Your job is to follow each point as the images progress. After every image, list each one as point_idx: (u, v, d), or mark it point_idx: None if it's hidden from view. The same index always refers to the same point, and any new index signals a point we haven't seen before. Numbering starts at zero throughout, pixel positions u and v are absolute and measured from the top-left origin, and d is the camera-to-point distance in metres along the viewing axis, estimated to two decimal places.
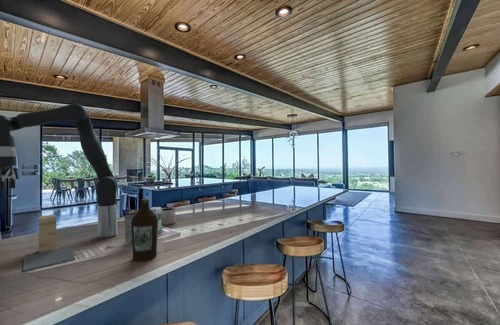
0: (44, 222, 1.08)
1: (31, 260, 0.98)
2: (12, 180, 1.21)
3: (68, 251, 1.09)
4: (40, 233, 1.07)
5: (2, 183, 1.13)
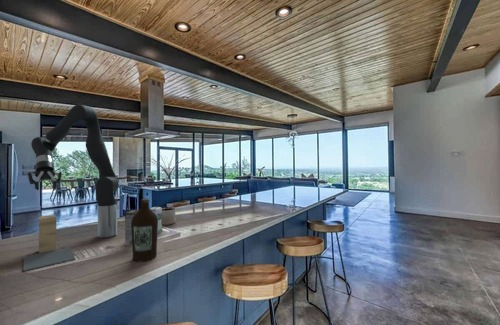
0: (44, 222, 1.08)
1: (31, 260, 0.98)
2: (52, 182, 1.24)
3: (68, 251, 1.09)
4: (40, 233, 1.07)
5: (36, 184, 1.18)
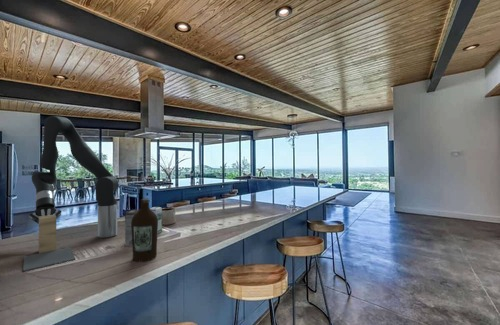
0: (44, 222, 1.08)
1: (31, 260, 0.98)
2: None
3: (68, 251, 1.09)
4: (40, 233, 1.07)
5: None
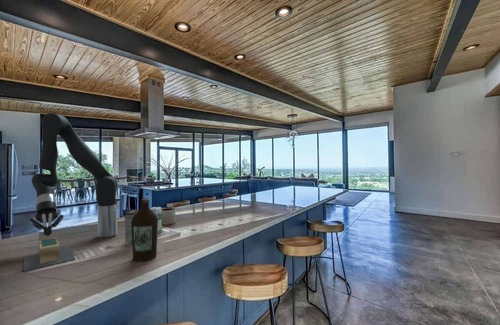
0: None
1: (31, 260, 0.98)
2: None
3: (68, 251, 1.09)
4: None
5: (45, 229, 1.09)
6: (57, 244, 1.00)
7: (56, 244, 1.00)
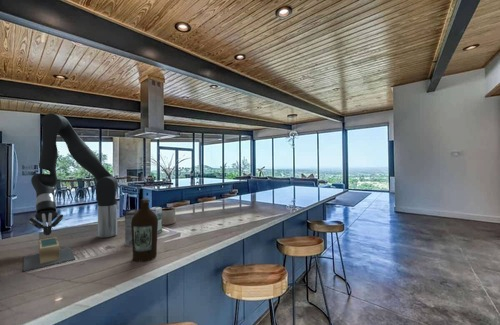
0: None
1: (31, 260, 0.98)
2: None
3: (68, 251, 1.09)
4: None
5: (45, 229, 1.10)
6: (57, 244, 1.00)
7: (56, 244, 1.00)
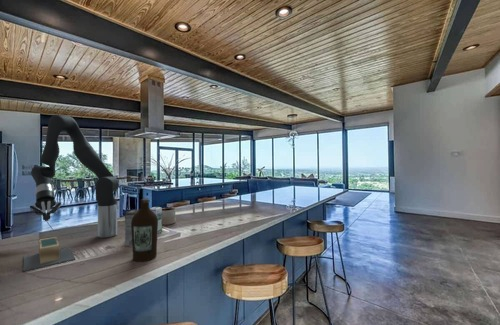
0: None
1: (31, 260, 0.98)
2: (46, 213, 1.22)
3: (68, 251, 1.09)
4: None
5: (44, 215, 1.20)
6: (57, 244, 1.00)
7: (56, 244, 1.00)
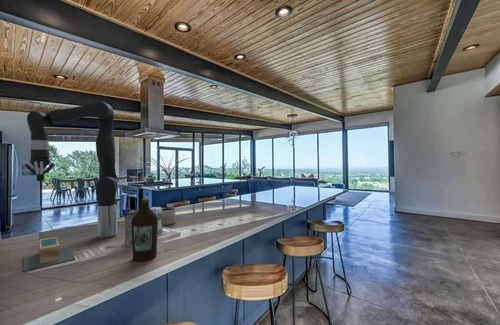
0: None
1: (31, 260, 0.98)
2: None
3: (68, 251, 1.09)
4: None
5: (38, 176, 1.26)
6: (57, 244, 1.00)
7: (56, 244, 1.00)
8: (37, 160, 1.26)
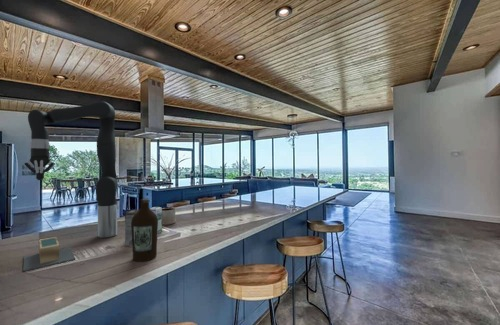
0: None
1: (31, 260, 0.98)
2: None
3: (68, 251, 1.09)
4: None
5: (37, 175, 1.26)
6: (57, 244, 1.00)
7: (56, 244, 1.00)
8: (37, 159, 1.26)
